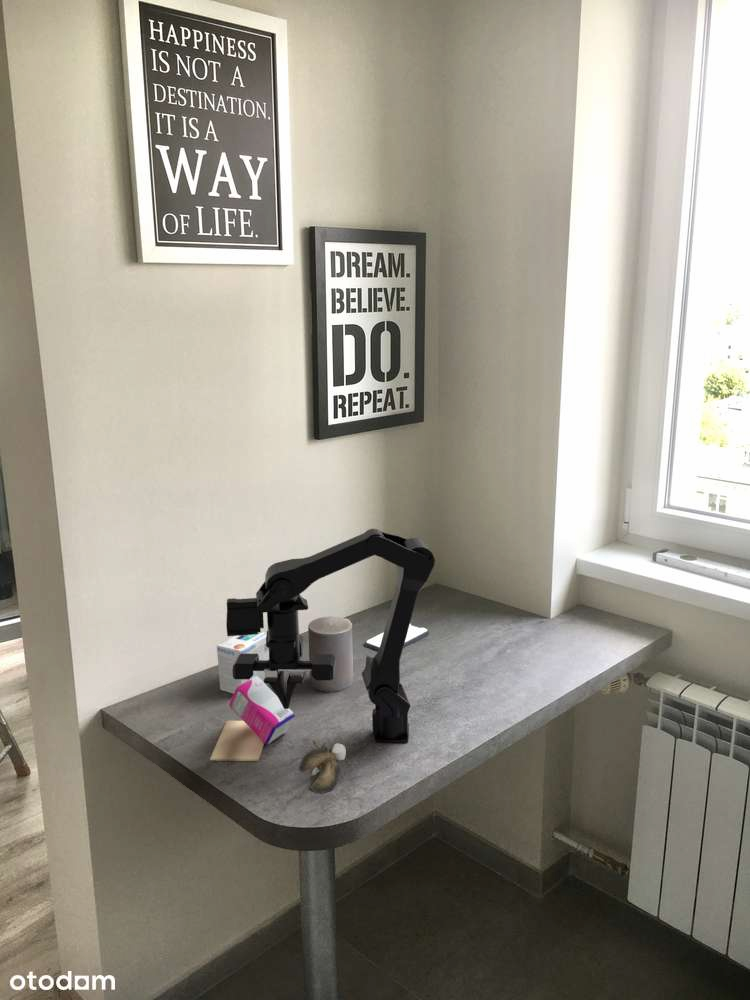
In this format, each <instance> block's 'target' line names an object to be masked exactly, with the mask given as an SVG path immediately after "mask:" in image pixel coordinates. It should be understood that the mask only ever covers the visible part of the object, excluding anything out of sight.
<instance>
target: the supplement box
mask: <svg viewBox="0 0 750 1000" xmlns="http://www.w3.org/2000/svg"><path fill="white" fill-rule="evenodd" d="M228 706H229V707H230V708H231V709H232V710H233V711H234V712H235V713H236V714H237V715H238V716H239V718H240V719H241V721H244V722H245V723H246V724H247V725H248V726H249V727H250V728H251V729H252V730H253V731H254V732H255V733H256V734H257V736H258V737H259V738H260V739H261V740H262V741H263V742H264V745H266V746H268V745H270V744H271V743H272V742H273V741H275V740H276V739H278V738H279V737H281V736H282V735H284V734H286V733H287V732H288V730H289V729H290V727H291V725H292V723H293V721H294V719H295V717H296V716H297V715H296V714H295V713H294V712H293V711H292V710H291V709H290V707H289V708H288V709H284V708H283V706H282V704H281V702H280V700H279V698H278V696H277V695H276V693H275V692H274V691H272V689H271V688H269V686H268V685H267V684H266V683H264V682H263V681H262V680H261V679H260V678H259V677H258V676H255V677H253V678H252V679H250V680H248V681H247V682H245V683H243V684H241V685H240V686H238V687H237V688H236V690H235V692H234V694H232V697H231V698H230V701H229V703H228Z"/></svg>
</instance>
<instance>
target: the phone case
mask: <svg viewBox="0 0 750 1000" xmlns="http://www.w3.org/2000/svg"><path fill="white" fill-rule="evenodd" d="M383 634H384V631H383V632H381V633H378V634H377V635H375V636H373V637H371V638H369V639H367V640H365V641H364V647H365V648H368V649H371V650H374V651H377V652H378V651H379V648H380V645H381V641H382V637H383ZM429 635H430V630H429V628H427V627H423V626H421V625H417V624H414V623H411V622H410V625H409V629H408V632H407V636H406V640H405V643H404V647H403V649H404V648H406V647H408V646H411V645H412V644H414V643H417V642H419V641H421V640H422V639H424V638H427V637H428V636H429Z"/></svg>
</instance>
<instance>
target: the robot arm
mask: <svg viewBox="0 0 750 1000" xmlns="http://www.w3.org/2000/svg"><path fill="white" fill-rule="evenodd" d="M373 556H376V557H379V558H382V559H384V560H385V561H386V562H387V561H388V562H389V563H391V564H394V565H395V566H396V587H395V589H394V593H393V596H392V597H393V598H392V600H391V604H390V605H391V606H390V608H389V611H388V615H387V618H386V619H387V620H386V623H385V627H384V631H383V632H384V634H383V637H382V641H381V645H380V648H379V651H377V652H376V654H375V655H374V657H371V656H367V655H366V657H365V667H364V669H363V670H362V672H361V675H362V679H363V683H364V686H365V689H366V692H367V696H368V698H369V700H370V701H371V703H372V704H374V705H375V707H374V708H373V709H372V714H371V717H372V721H371V723H372V735H374V741H375V742H376V743H409V741H410V740H409V737H410V735H409V734H410V733H409V732H410V725H409V724H410V723H409V711H410V708H411V704H410V701H409V699H408V696H407V694H406V691H405V689H404V685H403V684H402V683H401V682H400V681H401V675H400V673H401V672H400V671H401V669H400V668H401V667H400V663H401V657H402V653H403V650H404V648H403V647H404V643H405V640H406V636H407V632H408V629H409V625H410V623H411V621H412V618H413V614H414V610H415V607H416V604H417V600H418V597H419V596H418V595H419V593H420V591H421V590H422V589H423V587H424V586H425V585H426V584H427V582H428V581H429V579H430V576H431V574H432V572H433V570H434V568H435V563H436V559H435V556H434V554H433V552H432V551H431V550H430V548H429V547H428V545H427V544H426V542H425V541H423V539H421V538H418V537H411V538H405V537H403V536H401V535H397V534H393V533H389V532H388V533H387V532H384V531H382V530H379V529H377V528H370V529H367V530H366V531H365V532H363V533H360V534H359V535H358V534H357V536H354V537H352V538H350V539H347V540H345V541H343V542H340V543H338V544H336V545H333V546H331V547H329V548H327V549H324V550H321V551H319V552H317V553H315V554H312V555H310V556H306V557H303V558H291V559H286V560H282V561H278V562H275V563H273V564H272V565H270V566H269V567H268V568H267V570H266V573H265V574H264V575H265V576H264V577H265V579H264V582H263V583H262V584H261V586H260V587H259V589H258V590H257V592H255V597H253V598H250V597H249V598H227V599H226V625H225V626H226V634H227V635H226V636H227V637H234V636H241V635H255V634H258V632H262V631H261V629H264V628H265V625H264V624H265V623H264V613H266V622H267V631H266V633H267V635H266V647H268V648H269V660H259V655H258V654H239V656H238V657H237V659H236V661H235V663H234V665H233V678H234V679H248V680H249V679H250V678H251V677H252V676H253V674H254V673H253V671H264V674H265V678H264V683H265V684H266V685H267V684H268V685H269V687H271V690H273V693H274V694H275V695H276V696H277V697H278V698H279V700H280V702H281V704H282V706H283V708H284V709H288V708H289V709H290V705H291V701H292V698H293V695H294V692H295V690H296V687H297V685H302V684H303V683H304V679H305V678H306V674H307V672H309V673H310V672H312V677H313V678H314V679H315V680H332V679H334V674H335V669H336V658H335V657H334V655H333V654H315V656H314V660H313V661H309V660H306V659H301V658H302V657H303V635H302V634H300V629H299V628H300V625H299V622H300V621H299V611H307V610H309V604H308V600H307V599H306V598H304V597H302V595H301V594H302V593H303V592H305V591H306V590H307V589H308V588H309V587H310V586H311V585H313V584H314V583H315V582H316V581H318V580H320V579H322V578H324V577H327V576H329V575H331V574H334V573H336V572H339V571H341V570H344V569H345V568H348V567H350V566H352V565H354V564H357V563H360V562H361V561H364V560H366V559H369V558H372V557H373ZM285 672H288V676H287V681H286V683H285ZM285 684H286V685H285Z"/></svg>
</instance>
